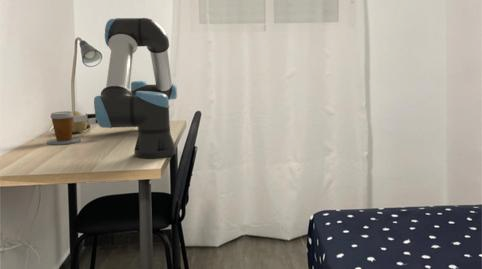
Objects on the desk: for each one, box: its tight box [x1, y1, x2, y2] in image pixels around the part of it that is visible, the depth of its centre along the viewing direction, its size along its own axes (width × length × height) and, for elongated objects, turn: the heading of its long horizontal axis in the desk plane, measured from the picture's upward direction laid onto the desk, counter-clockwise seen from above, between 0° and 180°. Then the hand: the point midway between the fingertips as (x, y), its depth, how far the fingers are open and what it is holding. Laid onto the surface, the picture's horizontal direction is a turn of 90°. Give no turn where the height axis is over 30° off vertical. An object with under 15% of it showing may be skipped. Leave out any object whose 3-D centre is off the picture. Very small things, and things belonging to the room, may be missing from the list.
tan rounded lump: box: [72, 110, 89, 134], centre depth 227 cm, size 10×12×11 cm
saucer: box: [46, 136, 82, 146], centre depth 203 cm, size 14×14×1 cm
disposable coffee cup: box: [50, 110, 74, 141], centre depth 202 cm, size 10×10×12 cm
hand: (80, 120), depth 208 cm, fingers open, 13 cm apart
